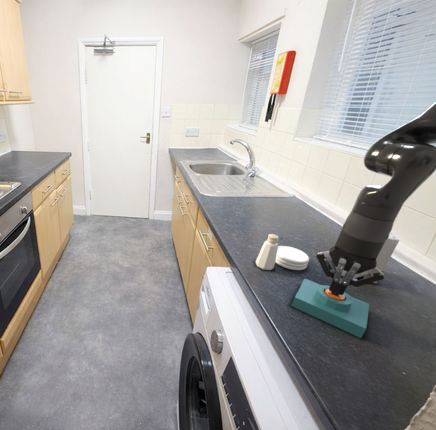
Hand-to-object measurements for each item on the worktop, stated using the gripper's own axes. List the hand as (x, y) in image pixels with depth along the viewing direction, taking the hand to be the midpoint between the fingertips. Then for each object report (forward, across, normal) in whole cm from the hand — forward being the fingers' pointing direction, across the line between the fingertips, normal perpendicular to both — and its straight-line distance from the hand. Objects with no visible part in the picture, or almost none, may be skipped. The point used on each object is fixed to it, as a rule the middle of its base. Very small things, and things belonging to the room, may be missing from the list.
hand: (334, 293), depth 66 cm
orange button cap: (+2, 0, 0) cm, 2 cm away
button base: (+5, 0, 0) cm, 5 cm away
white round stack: (+6, +13, -17) cm, 22 cm away
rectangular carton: (+5, -3, -26) cm, 27 cm away
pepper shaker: (+6, +18, -9) cm, 21 cm away
